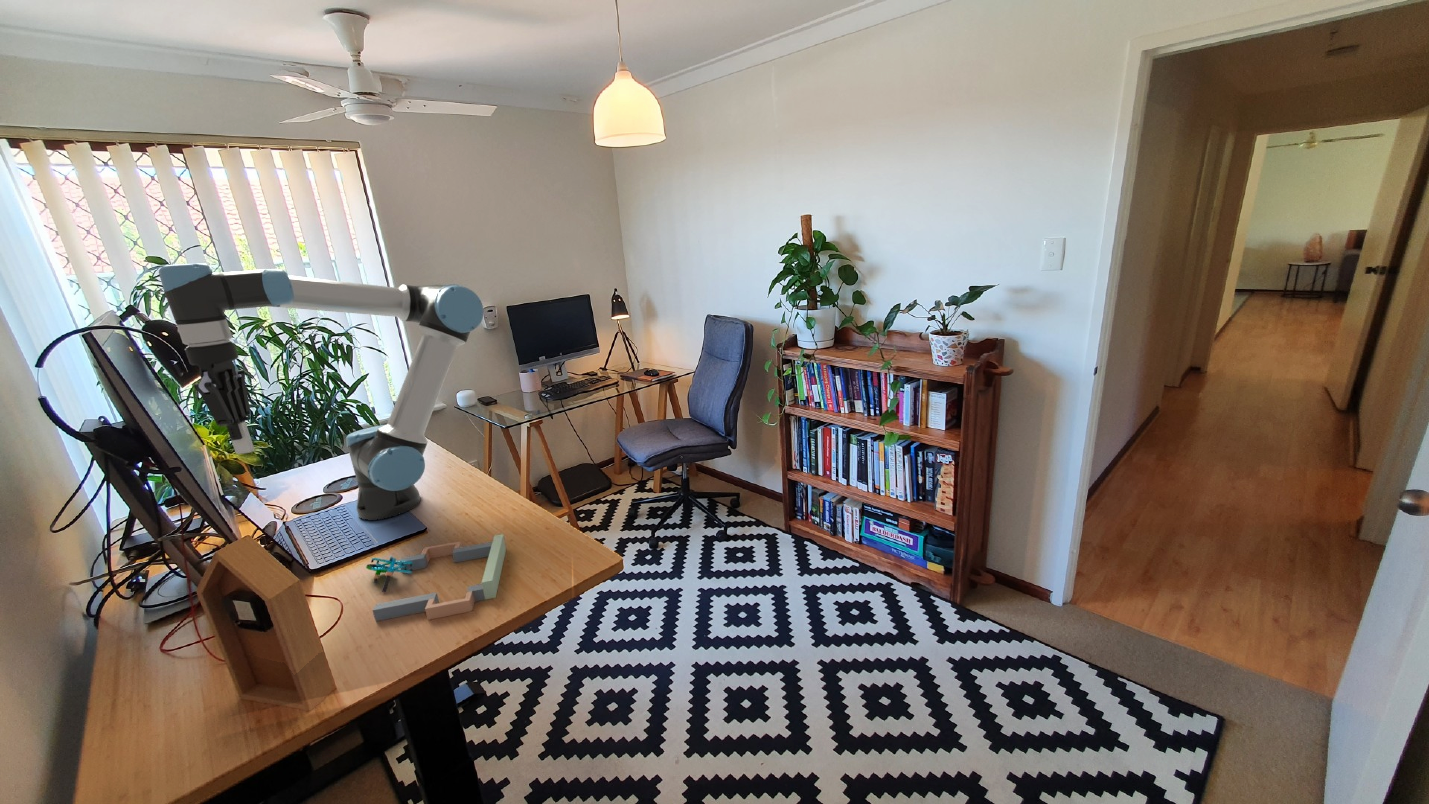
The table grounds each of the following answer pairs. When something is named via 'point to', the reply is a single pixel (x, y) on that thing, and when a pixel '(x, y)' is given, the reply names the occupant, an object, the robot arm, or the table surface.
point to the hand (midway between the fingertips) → (245, 452)
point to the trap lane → (430, 601)
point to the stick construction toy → (387, 569)
